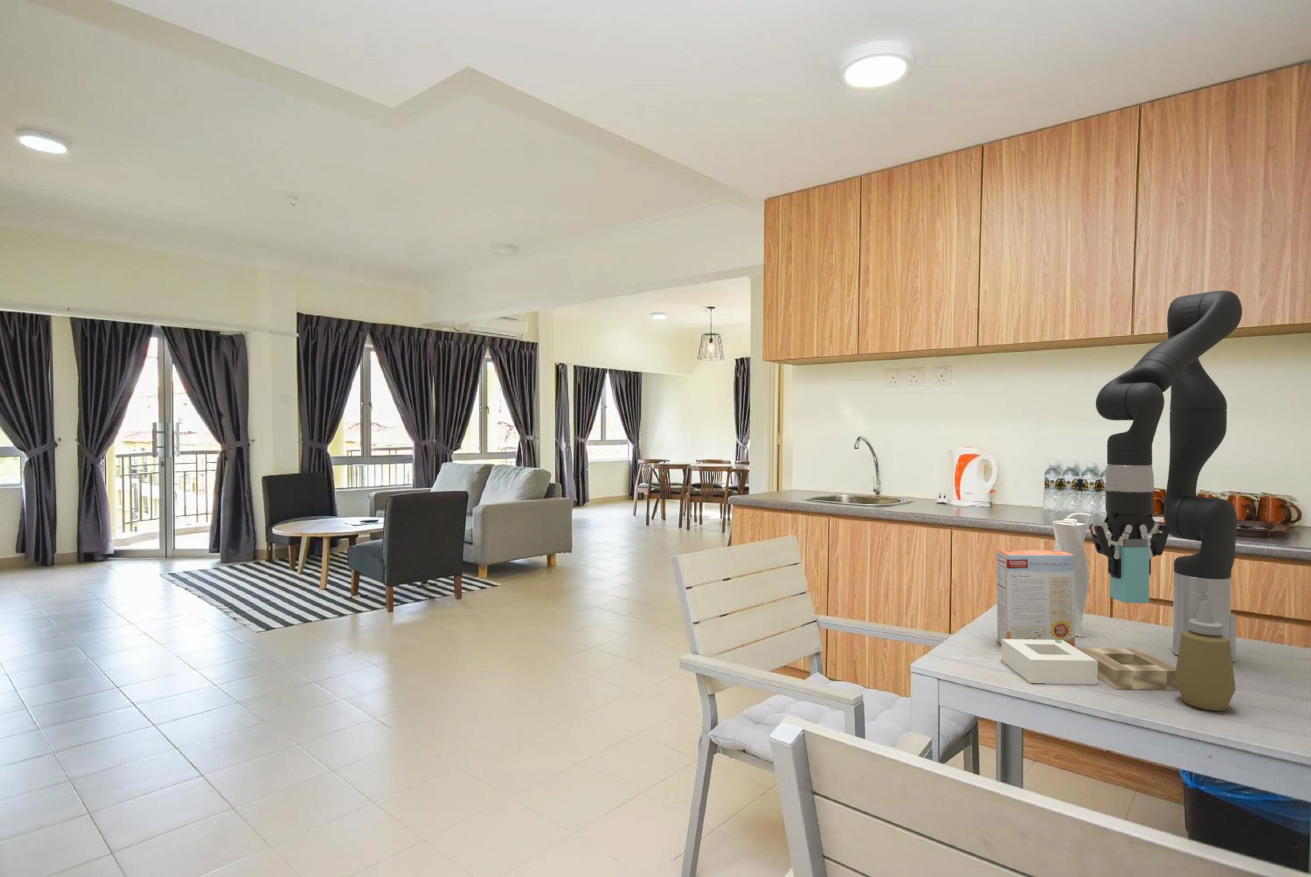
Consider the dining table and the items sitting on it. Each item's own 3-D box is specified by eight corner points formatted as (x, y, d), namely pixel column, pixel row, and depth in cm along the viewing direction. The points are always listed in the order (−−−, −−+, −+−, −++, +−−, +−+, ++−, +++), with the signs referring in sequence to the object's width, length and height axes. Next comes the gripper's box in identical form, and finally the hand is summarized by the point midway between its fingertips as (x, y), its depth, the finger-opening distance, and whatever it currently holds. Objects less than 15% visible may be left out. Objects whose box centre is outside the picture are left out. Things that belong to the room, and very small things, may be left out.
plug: (1133, 596, 129) (1133, 535, 129) (1149, 603, 125) (1149, 539, 125) (1110, 596, 130) (1110, 535, 129) (1124, 603, 125) (1124, 539, 125)
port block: (1061, 661, 136) (1062, 638, 136) (1097, 684, 124) (1097, 659, 124) (1001, 660, 137) (1001, 637, 137) (1030, 683, 125) (1031, 658, 125)
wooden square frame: (1139, 666, 133) (1140, 648, 133) (1183, 690, 121) (1183, 671, 121) (1077, 665, 134) (1077, 648, 134) (1115, 689, 122) (1115, 670, 122)
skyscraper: (1083, 629, 157) (1084, 511, 156) (1096, 639, 150) (1097, 515, 149) (1046, 627, 159) (1046, 510, 158) (1057, 637, 152) (1058, 514, 151)
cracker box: (1061, 643, 147) (1062, 549, 147) (1075, 652, 141) (1076, 554, 141) (995, 641, 149) (995, 548, 148) (1006, 650, 143) (1007, 553, 142)
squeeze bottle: (1162, 696, 119) (1163, 595, 118) (1204, 694, 119) (1205, 594, 119) (1203, 716, 111) (1204, 608, 110) (1248, 713, 111) (1249, 606, 111)
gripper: (1154, 485, 130) (1154, 573, 130) (1079, 486, 131) (1079, 573, 131) (1182, 489, 123) (1182, 582, 123) (1102, 490, 123) (1102, 582, 124)
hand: (1129, 577), depth 127 cm, fingers closed on plug, 4 cm apart
